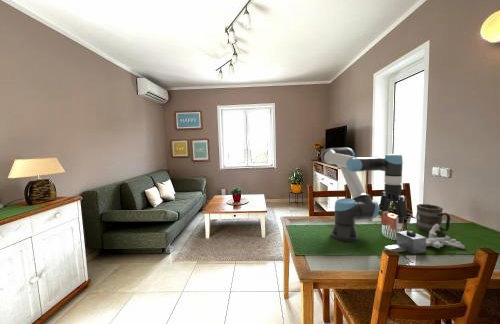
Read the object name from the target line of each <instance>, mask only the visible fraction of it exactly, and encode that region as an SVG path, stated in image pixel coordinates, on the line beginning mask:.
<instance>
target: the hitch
mask: <svg viewBox="0 0 500 324" xmlns="http://www.w3.org/2000/svg"><path fill="white" fill-rule="evenodd" d="M426 238H427V237H426V236H423V235H420V234H418V233H417V231H414V230H402V231H397V232H396V244H392V245H386V246H384V248H383V251H384V250H390V251H395V252H396V253H401V252H408V253H411V254H413V255H415V254H421V253H422V254H423V253H426V249H427V246H426Z"/></svg>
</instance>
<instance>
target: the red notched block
mask: <svg viewBox="0 0 500 324" xmlns="http://www.w3.org/2000/svg"><path fill="white" fill-rule="evenodd" d="M380 215H381V216H380V217H381V219H380V225H382V226H390V230H393V231H394V230H395V231H396V230H397V229H396V217H397V216H398V215H397V213H396V214H395V213H392V212H389V213H383V212H382V213H381V214H380ZM404 218H405V217H403V223H402V229H401V230H403V229H404V222H405V221H404Z"/></svg>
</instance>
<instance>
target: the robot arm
mask: <svg viewBox="0 0 500 324" xmlns="http://www.w3.org/2000/svg"><path fill="white" fill-rule="evenodd" d="M355 155H356V153H355V152H354V150H353V149H352V148H350V147H346V146H345V147H329V148H326V149H324V150H323V151H322V152H321V154H320V156H321V157H320V158H321V162H323V163H325V164H327V165H336V167H337V168H338V169H340V170H341V173H342V176H343V178H344V180H345V183H346V185H347V188H348V190H349V193H350V195H351V197H352V198H346V197H345V198H339V199H337V200H336V201H335V202H334V225H333V227H332V230H331V236H332V237H333V238H334V239H335V240H338V241H341V242H355V241H357V240H358V239H359V234H358V231H357V228H356V221H359V220H360V221H361V220H372V219H376V218H377V217H378V215H379V213H380V210H381V212H382V213H390V212H389V208H390V205H391V203H392V204H393V205H394V208H395V211H396V215H398V216H397V217H396V230H403V229H402V223H403V224H404V221H403V217H404V218H406V217H408V212H407V203H406V199H407V197H406V196H401V192H403V191H402V188H403V186H402V185H403V184H402V182H403V163H404V162H403V156H402V154H399V153H388V154H387V153H386V154H385V156H384V157H381V156H371V157H369V156H368V157H358V156H357V157H356V156H355ZM370 171H371V172H373V171H382V172H384V191H381V192H380V202H379V203H378V202H377V200H375V199H372V197H371V195H370V194H368V193H366V191H365V189H364V186H363V185H362V184H363V183H362V182H361V179H360V177H359V175H358V172H370Z"/></svg>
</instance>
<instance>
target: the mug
mask: <svg viewBox="0 0 500 324" xmlns="http://www.w3.org/2000/svg"><path fill="white" fill-rule="evenodd" d="M443 210H444V208H443V207H441V206H439V205H434V204H429V203H419V204H416V217H415V219H416V221H415V222H416V223H415V228H417V229H418V230H420V231H424V232H428V233H429V231H430V230H431V229H432V228H433V226H434V225H436V224H438V225H439V229H440V230H437V231H435V233H437V232H439V233H440V232H448V231H449V229H450V223H451V216H450V214H449V213H447V212H443ZM444 215H445V216H446V223H445V229H444V228H443V227H442V222H443V216H444Z"/></svg>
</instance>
